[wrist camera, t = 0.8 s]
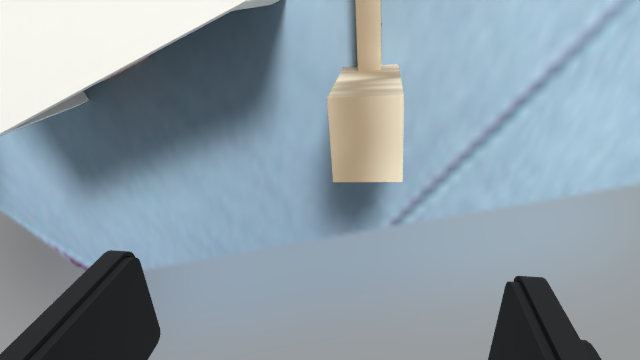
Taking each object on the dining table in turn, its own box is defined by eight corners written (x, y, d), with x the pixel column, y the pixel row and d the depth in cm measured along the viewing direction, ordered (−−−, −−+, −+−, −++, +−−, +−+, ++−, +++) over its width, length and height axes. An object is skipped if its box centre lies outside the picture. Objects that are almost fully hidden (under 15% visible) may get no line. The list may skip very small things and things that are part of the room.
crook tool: (400, -153, 22) (408, -229, 15) (397, 130, 30) (402, 181, 22) (280, -135, 24) (228, -197, 16) (307, 132, 31) (280, 182, 23)
